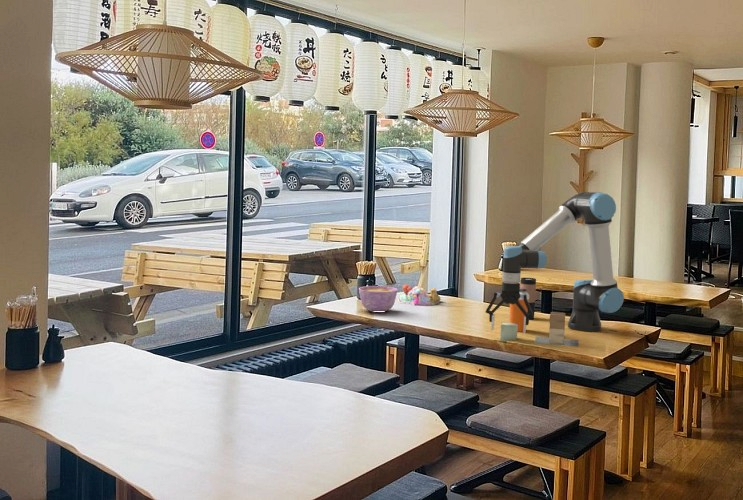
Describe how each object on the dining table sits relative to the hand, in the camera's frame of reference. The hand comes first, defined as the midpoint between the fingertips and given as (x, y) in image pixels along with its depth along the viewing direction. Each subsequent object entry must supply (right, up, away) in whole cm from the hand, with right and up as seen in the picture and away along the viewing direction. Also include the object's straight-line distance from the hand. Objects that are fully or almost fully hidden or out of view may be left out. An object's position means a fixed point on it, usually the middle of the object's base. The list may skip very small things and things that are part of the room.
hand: (508, 331), depth 330 cm
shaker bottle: (+7, -3, +18) cm, 20 cm away
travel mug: (+18, +1, +51) cm, 54 cm away
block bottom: (+20, -4, -4) cm, 21 cm away
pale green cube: (0, -4, +1) cm, 4 cm away
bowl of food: (-56, +3, +61) cm, 83 cm away
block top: (+20, +2, -5) cm, 20 cm away
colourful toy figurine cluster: (-33, +6, +92) cm, 98 cm away
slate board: (+20, -5, -4) cm, 21 cm away
